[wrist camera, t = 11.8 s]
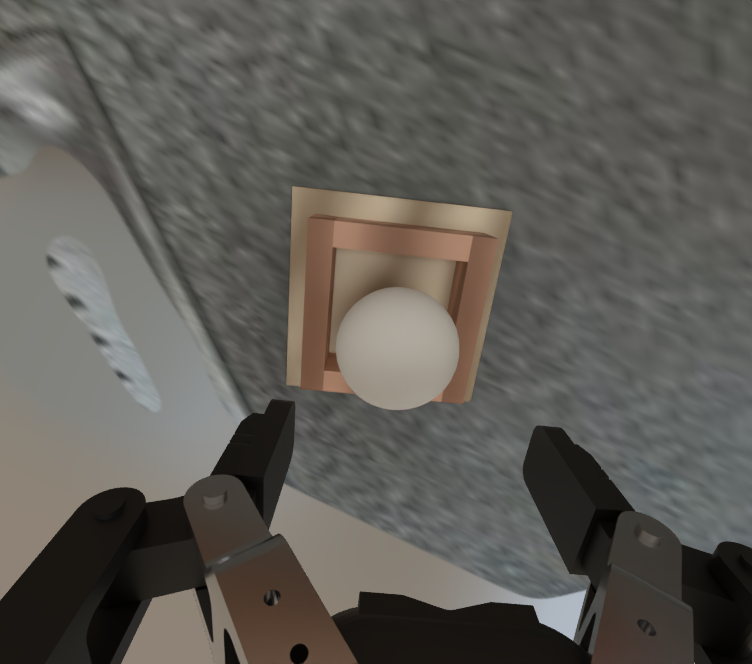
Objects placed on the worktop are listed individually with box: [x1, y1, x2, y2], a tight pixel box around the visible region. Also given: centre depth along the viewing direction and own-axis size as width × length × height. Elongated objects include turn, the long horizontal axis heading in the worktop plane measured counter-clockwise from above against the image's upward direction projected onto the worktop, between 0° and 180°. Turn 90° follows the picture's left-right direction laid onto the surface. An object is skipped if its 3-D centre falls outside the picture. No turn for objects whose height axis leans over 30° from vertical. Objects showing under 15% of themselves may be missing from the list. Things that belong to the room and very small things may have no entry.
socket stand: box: [286, 186, 512, 404], centre depth 26 cm, size 14×14×4 cm
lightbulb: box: [336, 287, 459, 410], centre depth 22 cm, size 6×6×11 cm
